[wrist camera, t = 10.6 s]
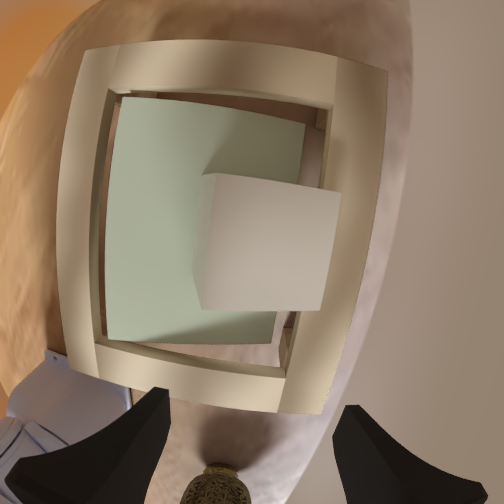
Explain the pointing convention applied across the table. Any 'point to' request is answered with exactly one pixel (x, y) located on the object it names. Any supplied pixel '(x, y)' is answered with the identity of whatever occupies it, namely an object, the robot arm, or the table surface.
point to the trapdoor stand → (331, 178)
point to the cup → (216, 487)
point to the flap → (180, 214)
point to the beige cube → (262, 244)
